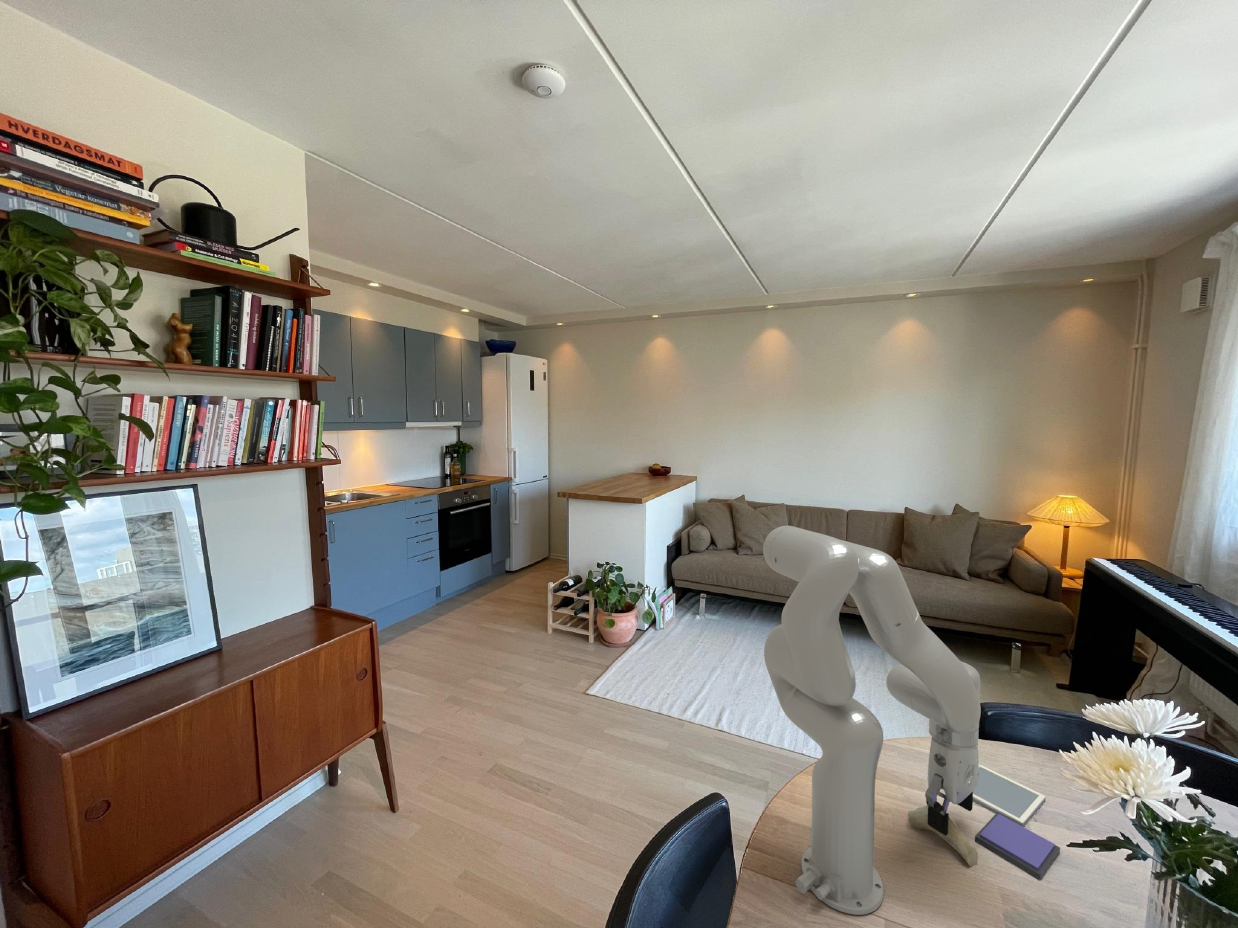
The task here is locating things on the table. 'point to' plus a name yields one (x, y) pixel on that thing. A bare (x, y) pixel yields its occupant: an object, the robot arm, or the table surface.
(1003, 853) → the ink pad
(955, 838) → the beige curved piece
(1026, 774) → the table surface
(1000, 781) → the white framed grey panel
